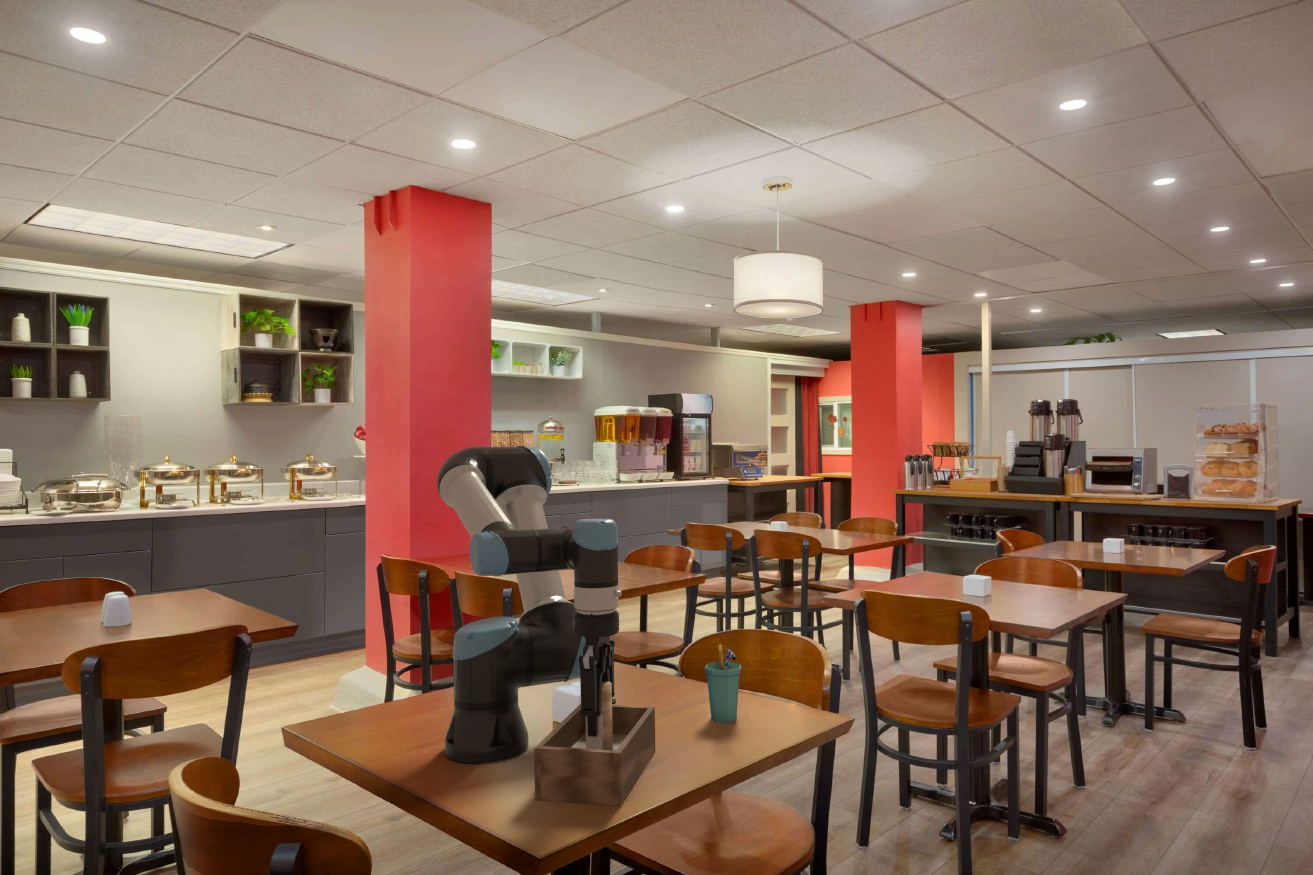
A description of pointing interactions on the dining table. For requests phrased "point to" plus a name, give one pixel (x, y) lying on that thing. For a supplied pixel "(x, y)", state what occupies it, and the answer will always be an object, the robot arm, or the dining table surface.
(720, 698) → the cup
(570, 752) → the crate
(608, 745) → the peg
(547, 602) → the robot arm
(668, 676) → the dining table surface
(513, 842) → the dining table surface
